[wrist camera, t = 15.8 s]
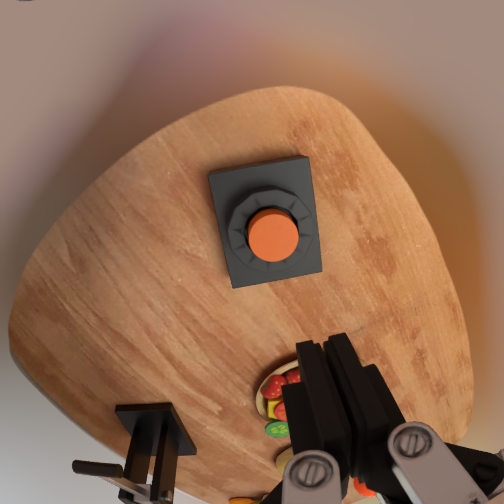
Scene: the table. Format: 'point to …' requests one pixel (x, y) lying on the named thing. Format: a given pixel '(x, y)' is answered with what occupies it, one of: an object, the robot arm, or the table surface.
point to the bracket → (153, 448)
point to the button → (272, 235)
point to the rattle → (245, 501)
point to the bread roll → (283, 460)
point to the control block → (260, 198)
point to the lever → (114, 478)
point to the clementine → (363, 488)
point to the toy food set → (278, 398)
